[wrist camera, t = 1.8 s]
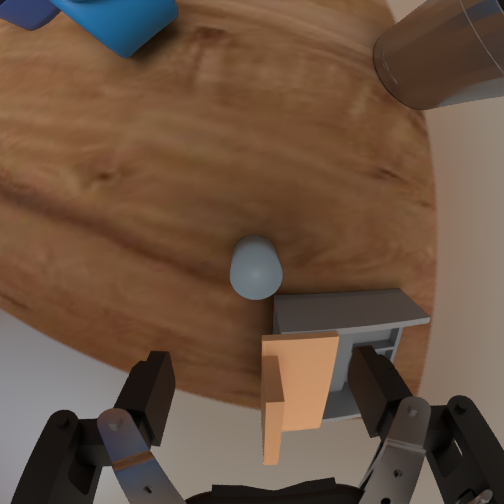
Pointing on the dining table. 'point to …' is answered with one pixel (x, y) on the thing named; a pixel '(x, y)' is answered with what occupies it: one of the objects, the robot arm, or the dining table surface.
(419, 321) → the housing
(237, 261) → the blue-grey rounded cylinder
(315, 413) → the lid
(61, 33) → the dining table surface
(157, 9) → the alarm clock
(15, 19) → the water bottle
